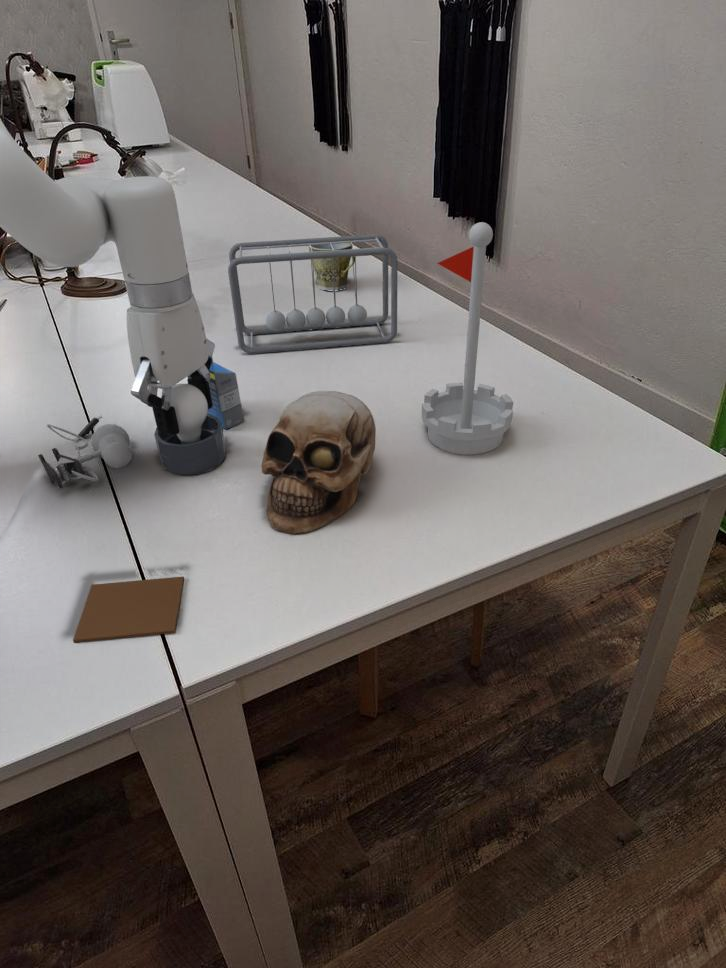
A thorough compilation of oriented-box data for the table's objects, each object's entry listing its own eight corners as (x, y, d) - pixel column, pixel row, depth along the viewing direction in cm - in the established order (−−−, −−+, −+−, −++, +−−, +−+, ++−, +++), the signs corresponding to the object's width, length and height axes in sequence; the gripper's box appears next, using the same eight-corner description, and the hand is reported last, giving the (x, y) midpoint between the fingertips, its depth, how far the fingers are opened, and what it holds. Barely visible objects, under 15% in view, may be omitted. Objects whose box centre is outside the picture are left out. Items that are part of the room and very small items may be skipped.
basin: (157, 479, 89) (149, 448, 86) (166, 444, 96) (159, 415, 93) (224, 474, 89) (218, 443, 87) (228, 440, 97) (223, 410, 94)
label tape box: (245, 421, 101) (234, 347, 94) (223, 431, 99) (211, 356, 92) (213, 403, 106) (201, 331, 99) (192, 412, 104) (177, 339, 97)
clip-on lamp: (48, 463, 98) (55, 502, 83) (29, 424, 95) (34, 458, 80) (125, 435, 102) (145, 468, 87) (109, 398, 99) (128, 425, 84)
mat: (73, 642, 65) (72, 640, 65) (92, 587, 72) (91, 584, 72) (175, 633, 66) (174, 630, 66) (184, 578, 73) (183, 576, 72)
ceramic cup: (302, 287, 153) (299, 243, 147) (335, 277, 158) (333, 235, 153) (338, 300, 145) (336, 255, 139) (371, 290, 150) (370, 245, 145)
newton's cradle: (387, 323, 133) (387, 232, 123) (397, 342, 125) (398, 247, 115) (240, 334, 130) (227, 243, 120) (239, 355, 122) (226, 259, 112)
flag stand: (511, 417, 100) (536, 211, 83) (508, 462, 90) (537, 238, 73) (426, 410, 103) (434, 208, 86) (415, 454, 92) (421, 234, 75)
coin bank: (271, 538, 78) (261, 435, 71) (257, 473, 92) (248, 383, 86) (397, 520, 81) (399, 420, 74) (365, 460, 95) (364, 372, 89)
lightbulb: (225, 454, 93) (213, 384, 86) (187, 473, 89) (172, 402, 82) (199, 439, 96) (186, 371, 90) (162, 457, 92) (145, 387, 86)
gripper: (178, 266, 87) (201, 387, 97) (84, 310, 74) (121, 444, 84) (226, 272, 84) (244, 396, 94) (136, 319, 71) (168, 456, 81)
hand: (186, 418), depth 89 cm, fingers open, 6 cm apart
